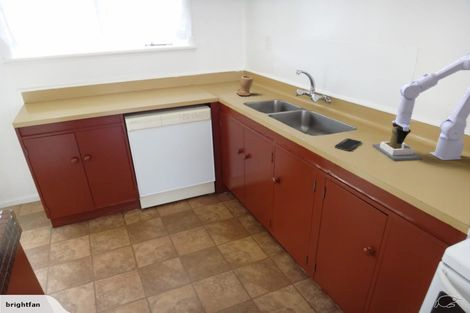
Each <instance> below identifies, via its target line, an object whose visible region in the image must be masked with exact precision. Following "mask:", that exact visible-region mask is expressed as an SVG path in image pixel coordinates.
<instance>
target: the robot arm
mask: <svg viewBox="0 0 470 313" xmlns="http://www.w3.org/2000/svg"><path fill="white" fill-rule="evenodd" d="M460 71H470V52H469V53H467V54H466V55H463V56H461V57H459V58H458V59H456V60H455V61H453V62H451V63H450V64H448V65H446V66H445V67H443V68H441V69H440V70H438V71H436V72H434V73H432V72H429V73H427V72H426V73H423V74H422V76H420V77H419V78H417V79H415V80H411V82H409V83H408V82H407V83H406V84H404V85H402V87H401V88H400V89H399V92H400V95H401V96H400V100H399V103H398V107H397V108H398V109H397V112H396V117H395V120H392V128H393V127H396V126H398V127H401V128H396V130H397V144H402V143H405V142H404V141H405V140H406V138H407V136H408V135H409V134H410V133H411V131H412V130H411V129H410V126H411V119H412V115H413V110H414V107H415V102H416V98H418V97H419V96H420V94H422V93H423V92H425V91H427V90H429V89H431V88H433V87H435V86H437V84H438V82H439V81H440V80H442V79H445V78H447V77H449V76H452V75H453V74H456V73H457V72H460ZM469 115H470V85H469V86H468V88H466V91H465V92H464V95H463V96H462V97H461V99H460V101H459V103H458V104H457V106H456V107H455V109H454V111H453V113H452V114H449V115H448V116H447V118H446V119H445V120H443V121H442V122H440V125H439V131H440V134H439V137H438V139H437V144H436V146H435V147H436V148H435V150H434V151H430V152H429V154H430V155H432V156H434V157H435V158H438V159H439V160H440V161H452V160H453V161H454V160H462V157H461V155H462V153H463V150H464V147H465V142H464V139H463V137H464V135H465V129H466V128H467V119H468V117H469Z"/></svg>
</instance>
